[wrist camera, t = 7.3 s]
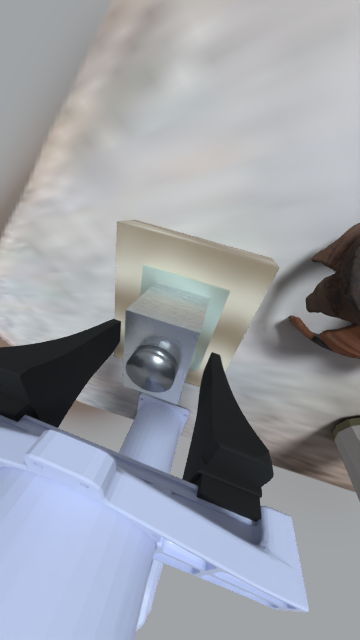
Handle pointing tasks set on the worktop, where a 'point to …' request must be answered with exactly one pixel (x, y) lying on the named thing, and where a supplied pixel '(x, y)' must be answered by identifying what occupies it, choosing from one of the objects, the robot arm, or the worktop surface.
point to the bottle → (350, 448)
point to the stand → (192, 284)
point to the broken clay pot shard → (338, 295)
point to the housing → (162, 340)
